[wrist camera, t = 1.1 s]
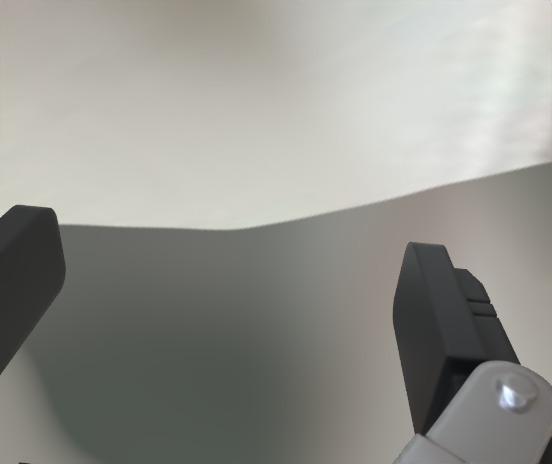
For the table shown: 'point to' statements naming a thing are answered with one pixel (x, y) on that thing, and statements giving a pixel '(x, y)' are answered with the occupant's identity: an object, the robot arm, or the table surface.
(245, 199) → the table surface
